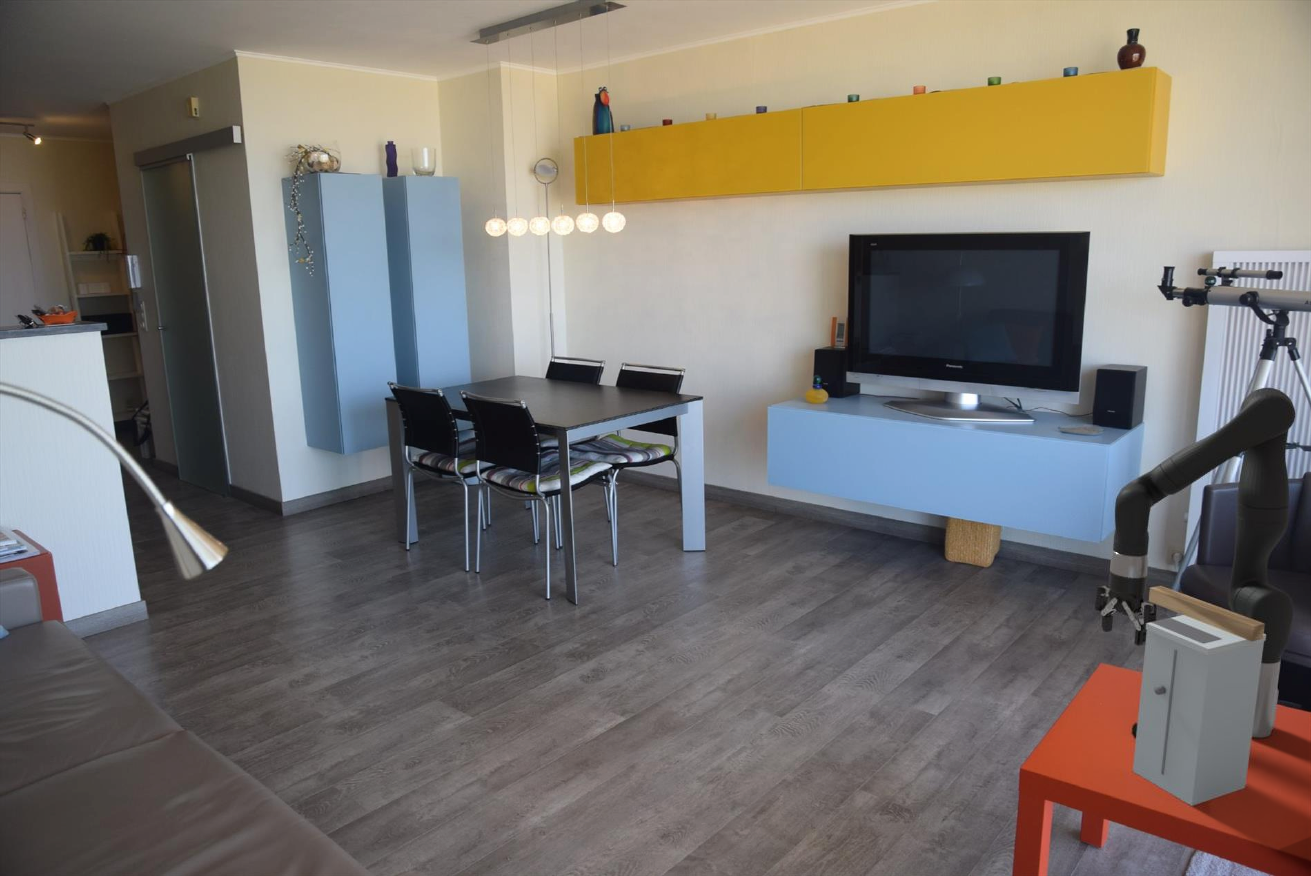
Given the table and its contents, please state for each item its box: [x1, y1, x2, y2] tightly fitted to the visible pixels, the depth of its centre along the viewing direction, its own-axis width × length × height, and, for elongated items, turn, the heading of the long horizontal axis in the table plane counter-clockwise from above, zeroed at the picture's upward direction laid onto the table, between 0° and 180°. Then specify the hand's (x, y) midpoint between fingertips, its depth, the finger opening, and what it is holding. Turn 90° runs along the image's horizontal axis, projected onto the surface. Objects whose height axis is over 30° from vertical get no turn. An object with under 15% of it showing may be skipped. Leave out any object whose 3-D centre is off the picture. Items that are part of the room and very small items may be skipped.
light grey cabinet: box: [1132, 614, 1266, 807], centre depth 179 cm, size 17×13×32 cm
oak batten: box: [1148, 585, 1265, 641], centre depth 180 cm, size 3×22×3 cm, turn 23°
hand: (1122, 637), depth 210 cm, fingers open, 8 cm apart
